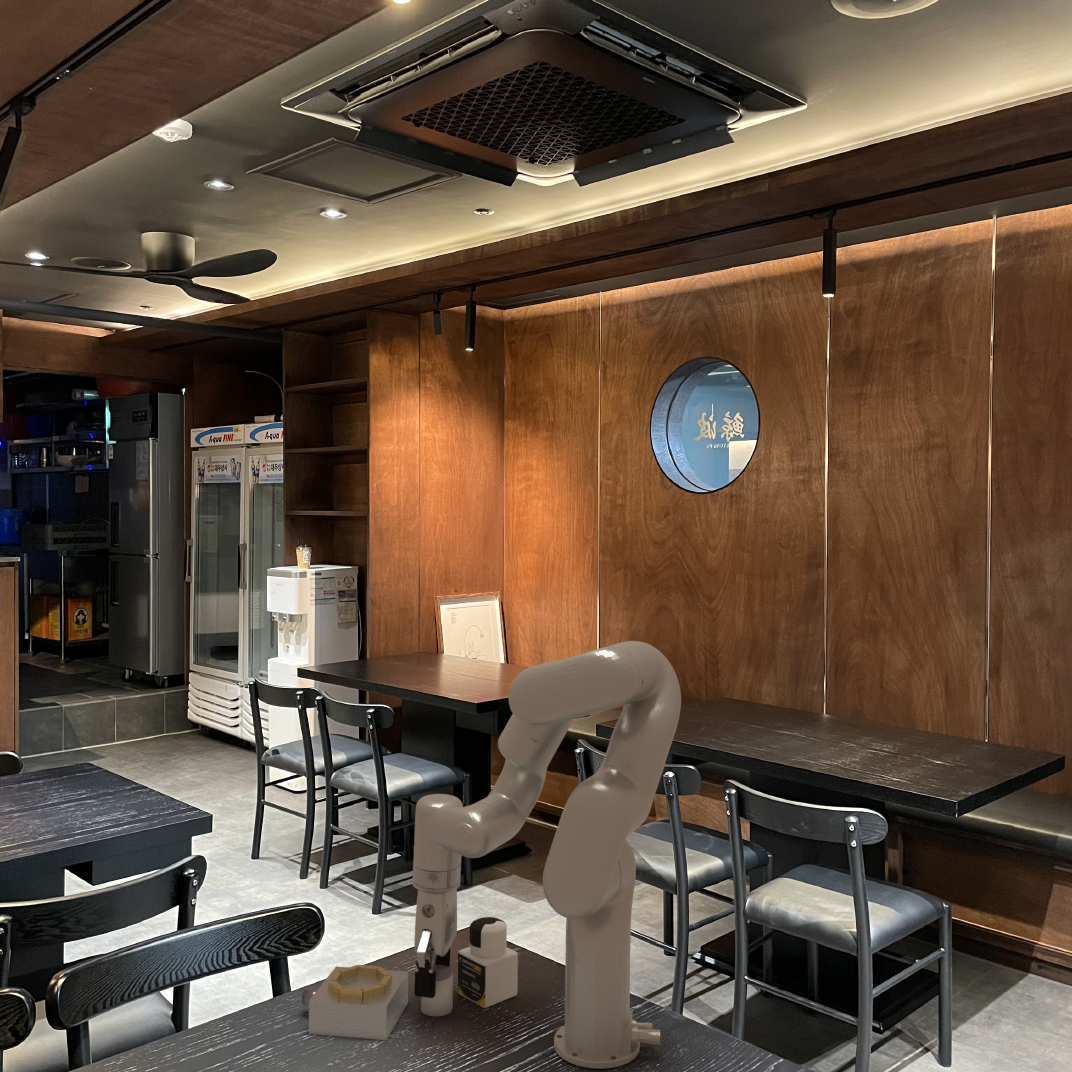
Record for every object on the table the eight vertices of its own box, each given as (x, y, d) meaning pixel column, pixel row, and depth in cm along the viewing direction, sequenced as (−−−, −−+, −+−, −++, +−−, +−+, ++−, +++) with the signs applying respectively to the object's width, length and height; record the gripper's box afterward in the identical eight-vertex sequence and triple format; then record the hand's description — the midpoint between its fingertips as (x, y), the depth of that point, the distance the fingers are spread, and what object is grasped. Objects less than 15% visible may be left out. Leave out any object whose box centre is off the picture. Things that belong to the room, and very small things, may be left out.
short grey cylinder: (455, 1002, 161) (456, 965, 161) (448, 1017, 156) (449, 978, 156) (425, 1000, 162) (425, 963, 162) (417, 1014, 157) (417, 976, 157)
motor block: (407, 1002, 161) (408, 964, 161) (386, 1040, 149) (386, 998, 149) (317, 995, 163) (318, 957, 163) (289, 1032, 151) (290, 991, 151)
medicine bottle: (456, 993, 164) (457, 920, 164) (490, 980, 169) (491, 909, 169) (484, 1009, 159) (485, 933, 159) (518, 995, 164) (519, 922, 164)
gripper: (447, 897, 150) (442, 1010, 150) (471, 859, 167) (466, 961, 167) (398, 892, 151) (394, 1005, 151) (427, 855, 168) (423, 956, 168)
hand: (432, 981), depth 159 cm, fingers open, 9 cm apart
